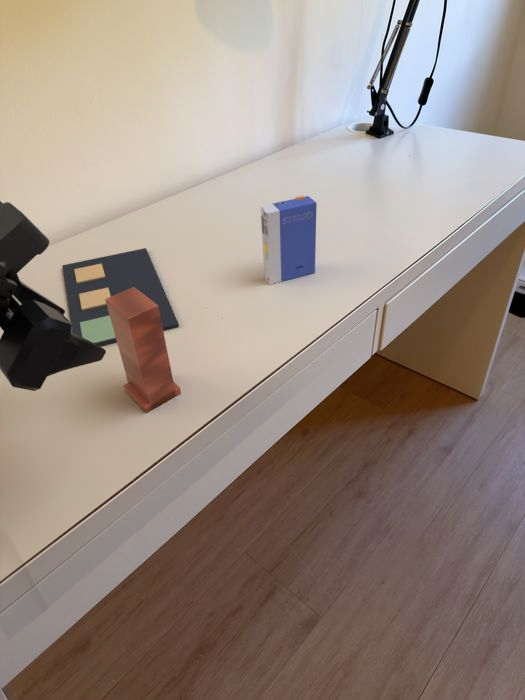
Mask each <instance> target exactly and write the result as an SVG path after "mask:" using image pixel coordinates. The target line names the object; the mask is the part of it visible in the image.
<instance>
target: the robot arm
mask: <svg viewBox="0 0 525 700" xmlns="http://www.w3.org/2000/svg"><path fill="white" fill-rule="evenodd" d="M49 245H50V239H49V238H48V237H47V236H46V235H45V234H44V233H43V232H42V231H41V230H40V229H39V228H38V227H37V226H36V225H35V224H34V223H33V222H32V221H31V220H30V219H29V218H28V217H27V216H26V215H25V214H24V213H23V212H22V211H21V210H20V209H18V208H17V207H16V206H15V205H13V204H12V203H11V202H9V201H6V202H2V201H1V200H0V329H1V330H2V331H3V332H2V334H1V336H0V371H1V373H2V374H3V376H4V377H5V379H6V380H7V381H8V382H9V384H10V385H11V386H12V388H16V389H21V390H27V391H33V392H36V391H39V390H41V389H42V386H43V385H44V383H45V382H46V380H47V378H48V377H49V376H53V375H57V374H58V373H62V372H64V371H67V370H70V369H75V368H78V367H81V366H86V365H89V364H93V363H97V362H100V361H102V360H103V359H104V357H105V355H106V352H107V350H106V349H105V348H103V347H102V346H98V345H96V344H94V343H92V342H90V341H88V340H87V339H85V338H83V337H81V336H79V335H77V334H75V333H73V332H72V326H71V321H70V320H69V319H68V318H67V317H66V316H65V313H66V310H65V309H64V308H63V307H61V306H60V305H58V304H57V303H56V302H53V301H52V300H51V299H48V298H47V296H44V295H43V294H41V293H40V292H38V291H37V290H35V289H34V288H32V287H30V286H29V285H27V284H26V283H24V282H23V281H22V280H21V279H20V278H19V275H18V273H19V272H20V271H21V270H23V268H25V267H26V266H27V265H28V264H29V263H30V262H31V261H32V260H33V259H34V258H35V257H37V255H42V254H43V253H44V252H45V251H46V250H47V249H48V247H49Z"/></svg>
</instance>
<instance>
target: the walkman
mask: <svg viewBox="0 0 525 700" xmlns="http://www.w3.org/2000/svg"><path fill="white" fill-rule="evenodd" d="M317 203H318V202H316V201H315V199H313V198H312V197H310V196H309V195H306V196H305V195H304V194H303V195H298V196H295V198H293V199H292V198H291V199H288V200H287V199H286V200H281V201H279V202H278V201H277V202H273V203H268V204H264V205H260V223H261V236H262V237H261V239H262V257H263V258H262V260H263V261H262V262H263V276H264V278H265V281H266V282H267V283H268V284H269V285H273V284H278V283H281V282H285V281H288V280H292V279H296V278H300V277H304V276H307V275H311V274H315V273H316V249H317V246H316V243H317V206H318V205H317Z"/></svg>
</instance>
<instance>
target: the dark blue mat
mask: <svg viewBox="0 0 525 700" xmlns="http://www.w3.org/2000/svg"><path fill="white" fill-rule="evenodd" d="M61 267H62V274H63V278H64V286H65V287H64V288H65V293H66V294H65V295H66V300H67V306H68V313H69V318H70V320H69V321H70V324H71V332H73V333H75V334H77V335H79V336H81V337H83V338H85V339H87V340H88V341H90V342H92V343H94V344H96V345H98V346H100V347H102V346H107V345H111V344H116V343H117V340H116V337H115V333H114V330H113V326H112V322H111V319H110V315H109V311H108V308H107V304H106V301H105V299H107V298H109V297H111V296H114V295H116V294H118V293H121V292H123V291H125V290H128V289H130V288H132V287H135V288H136V289H137V290H139V291H140V292H141V293H143V294H144V295H145V296H147V297H148V298H149V299H151V300H152V301H153V302H154V303H156V304H157V305H158V308H159V312H160V317H161V322H162V327H163V332H164V331H168V330H171V329H175V328H179V327H180V325H179V322H178V319H177V317H176V315H175V312H174V310H173V308H172V305H171V303H170V300H169V298H168V295H167V294H166V291H165V289H164V287H163V284H162V282H161V280H160V277H159V275H158V273H157V271H156V267H155V265H154V263H153V261H152V258H151V256H150V254H149V251H148V250H147V247H144V248H140V249H135V250H128V251H125V252H120V253H115V254H110V255H106V256H105V255H104V256H101V257H96V258H91V259H85V260H80V261H76V262H72V263H66V264H62V265H61Z"/></svg>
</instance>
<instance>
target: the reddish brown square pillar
mask: <svg viewBox="0 0 525 700" xmlns="http://www.w3.org/2000/svg"><path fill="white" fill-rule="evenodd" d="M105 301H106V304H107V308H108V311H109V315H110V319H111V322H112V326H113V330H114V333H115V337H116V340H117V342H116V344H117V348H118V351H119V355H120V358H121V362H122V365H123V370H124V373H125V377H126V379H127V383H125V384H123V389H124V392H125V393H126V394H127V395H128V396H129V397H130V398H131V399H132V400H133V401H134V402H135V403H136V404H137V405H138V406H139V407H140V408H141V409H142V410H143V412H145V413H146V414H148V413H150V412H151V411H153V410H154V409H156V408H158V407H159V406H161V405H164V404H165V403H167V402H169V401H170V400H172V399H174V398H175V397H177V396H179V395H180V394H182V391H181V387H180V385H178V384H177V383H176V382H175V381H174V377H173V371H172V367H171V362H170V356H169V353H168V348H167V342H166V337H165V332H164V331H163V327H162V322H161V317H160V312H159V308H158V305H157V304H156V303H154V302H153V301H152V300H151V299H149V298H148V297H147V296H145V295H144V294H143V293H141V292H140V291H139V290H137V289H136V288H135V287H132V288H130V289H128V290H125V291H123V292H121V293H118V294H116V295H114V296H111V297H109V298H107V299H105Z"/></svg>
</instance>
